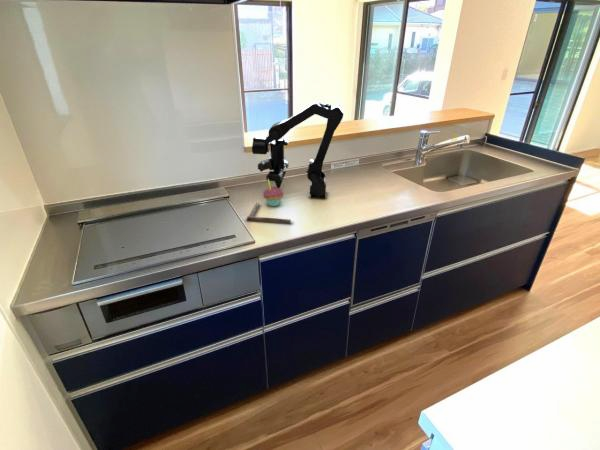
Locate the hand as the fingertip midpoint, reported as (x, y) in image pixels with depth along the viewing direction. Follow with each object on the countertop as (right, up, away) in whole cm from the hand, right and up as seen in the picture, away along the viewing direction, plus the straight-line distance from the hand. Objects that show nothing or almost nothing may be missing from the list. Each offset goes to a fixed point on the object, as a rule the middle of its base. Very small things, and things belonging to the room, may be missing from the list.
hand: (278, 188), depth 154 cm
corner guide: (-1, -12, -16) cm, 20 cm away
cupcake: (-2, -8, -8) cm, 11 cm away
